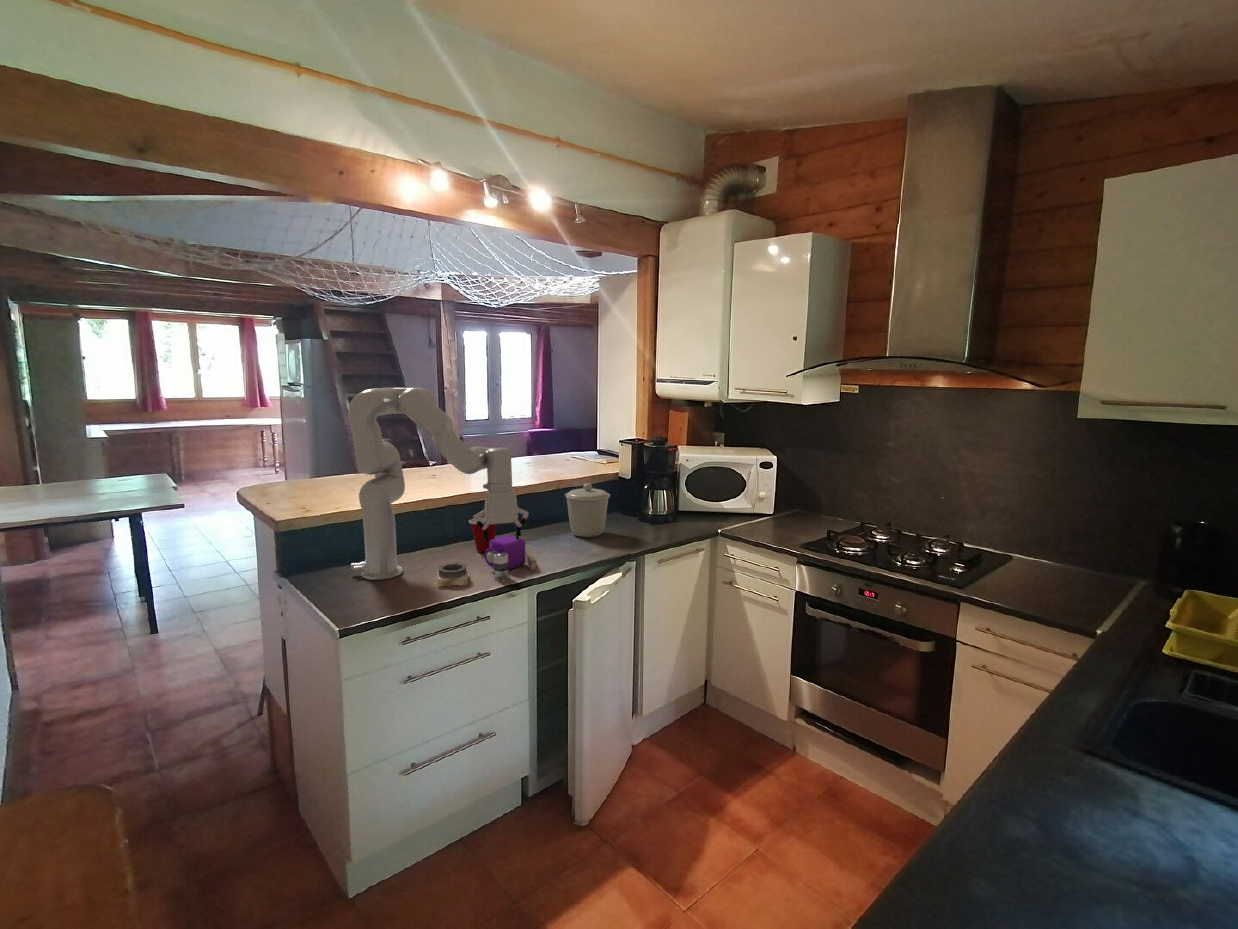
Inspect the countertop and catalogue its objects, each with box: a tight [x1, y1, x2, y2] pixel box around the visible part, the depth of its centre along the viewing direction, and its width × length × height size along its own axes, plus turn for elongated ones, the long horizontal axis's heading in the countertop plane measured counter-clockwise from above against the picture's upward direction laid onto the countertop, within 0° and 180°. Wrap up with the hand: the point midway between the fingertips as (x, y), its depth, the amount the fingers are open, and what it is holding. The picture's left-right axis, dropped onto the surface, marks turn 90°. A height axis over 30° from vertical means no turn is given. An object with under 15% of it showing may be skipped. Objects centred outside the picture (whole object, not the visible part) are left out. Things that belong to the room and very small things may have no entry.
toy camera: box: [484, 534, 526, 571], centre depth 206 cm, size 11×14×10 cm
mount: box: [437, 562, 469, 588], centre depth 192 cm, size 9×9×4 cm
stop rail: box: [525, 547, 536, 571], centre depth 210 cm, size 2×14×4 cm, turn 16°
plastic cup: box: [468, 516, 498, 553], centre depth 224 cm, size 11×11×12 cm
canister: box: [564, 483, 611, 538], centre depth 246 cm, size 18×18×21 cm
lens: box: [492, 553, 510, 582], centre depth 195 cm, size 5×5×8 cm
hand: (502, 539), depth 193 cm, fingers open, 9 cm apart
